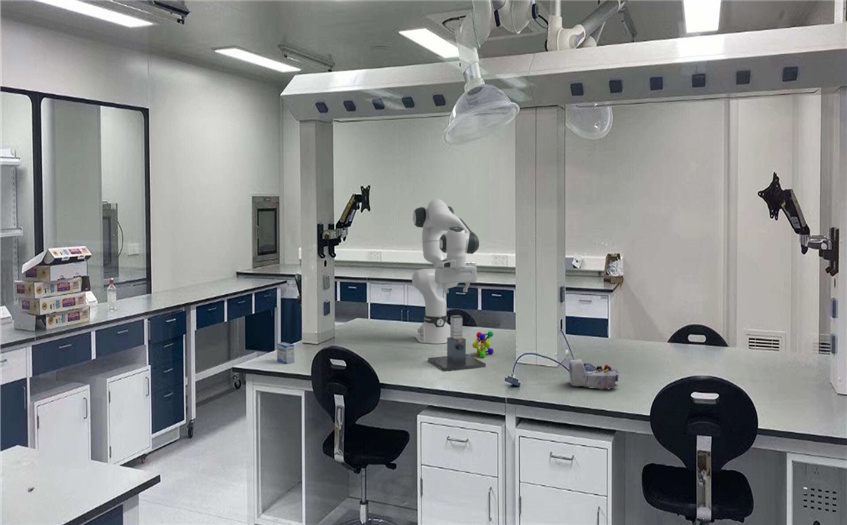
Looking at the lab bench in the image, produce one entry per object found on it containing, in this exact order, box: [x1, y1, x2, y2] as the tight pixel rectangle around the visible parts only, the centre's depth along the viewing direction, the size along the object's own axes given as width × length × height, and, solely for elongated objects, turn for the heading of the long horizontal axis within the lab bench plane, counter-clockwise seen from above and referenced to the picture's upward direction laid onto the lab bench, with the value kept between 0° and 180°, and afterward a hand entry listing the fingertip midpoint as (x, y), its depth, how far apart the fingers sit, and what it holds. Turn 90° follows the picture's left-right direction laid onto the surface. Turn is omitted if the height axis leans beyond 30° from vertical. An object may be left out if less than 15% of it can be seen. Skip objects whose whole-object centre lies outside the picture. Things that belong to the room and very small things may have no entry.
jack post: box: [450, 314, 463, 340], centre depth 303 cm, size 4×4×17 cm
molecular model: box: [472, 330, 495, 359], centre depth 320 cm, size 12×7×12 cm, turn 145°
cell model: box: [568, 358, 620, 389], centre depth 268 cm, size 13×11×20 cm
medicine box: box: [276, 341, 295, 365], centre depth 309 cm, size 8×4×9 cm, turn 47°
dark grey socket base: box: [427, 336, 487, 372], centre depth 304 cm, size 20×20×12 cm
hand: (455, 292), depth 304 cm, fingers open, 8 cm apart
